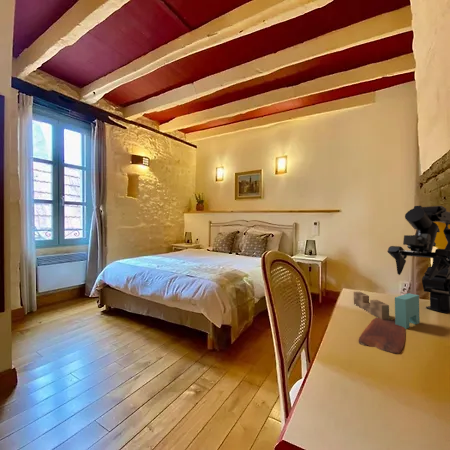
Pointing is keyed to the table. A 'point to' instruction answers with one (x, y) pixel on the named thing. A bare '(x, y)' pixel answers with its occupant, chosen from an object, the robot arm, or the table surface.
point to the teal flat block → (407, 310)
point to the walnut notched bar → (371, 305)
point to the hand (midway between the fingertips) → (413, 276)
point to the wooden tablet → (384, 335)
